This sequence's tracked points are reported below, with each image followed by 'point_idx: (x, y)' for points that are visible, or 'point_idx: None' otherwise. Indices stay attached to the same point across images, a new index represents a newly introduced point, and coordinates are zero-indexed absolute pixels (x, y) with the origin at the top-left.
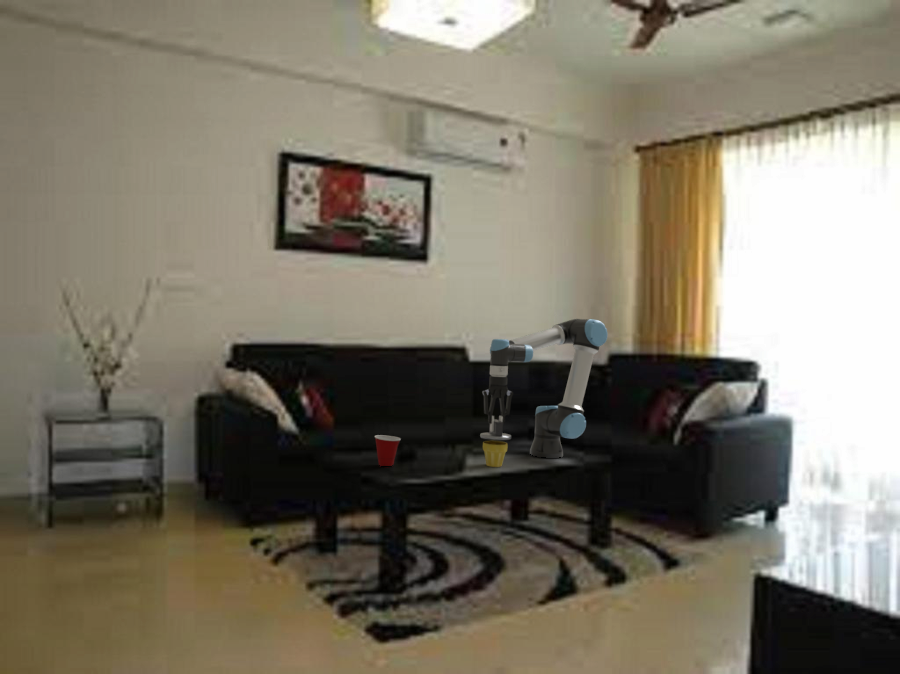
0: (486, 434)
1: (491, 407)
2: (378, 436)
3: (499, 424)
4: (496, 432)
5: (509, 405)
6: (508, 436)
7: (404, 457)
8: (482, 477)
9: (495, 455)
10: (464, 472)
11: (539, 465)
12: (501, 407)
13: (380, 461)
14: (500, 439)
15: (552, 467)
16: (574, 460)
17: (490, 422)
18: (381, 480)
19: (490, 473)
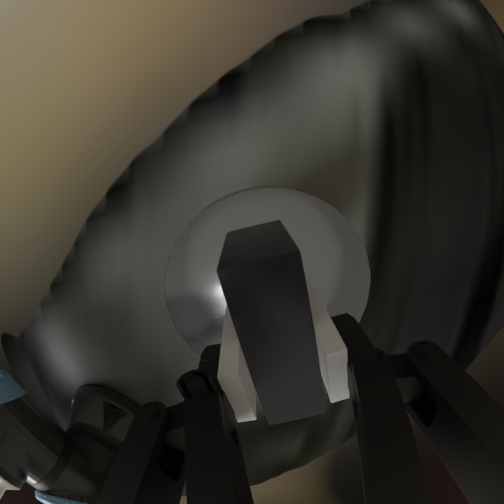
0: (333, 290)
1: (405, 426)
2: None
3: (255, 251)
4: (275, 227)
5: (114, 491)
6: (181, 251)
7: (487, 294)
8: (311, 18)
9: None
10: (374, 87)
11: (99, 286)
12: (235, 478)
13: None
14: (241, 190)
15: (64, 261)
16: (45, 366)
17: (339, 321)
18: (498, 29)
19: (282, 79)
